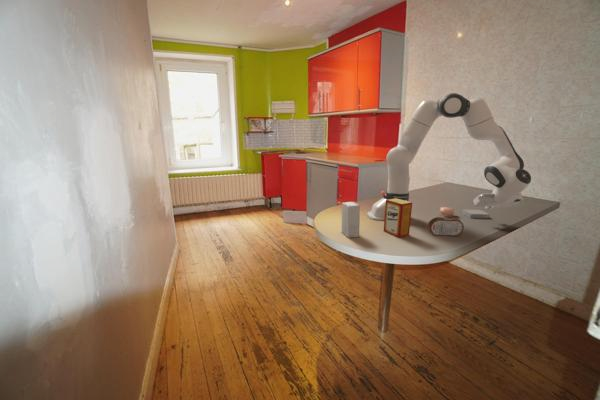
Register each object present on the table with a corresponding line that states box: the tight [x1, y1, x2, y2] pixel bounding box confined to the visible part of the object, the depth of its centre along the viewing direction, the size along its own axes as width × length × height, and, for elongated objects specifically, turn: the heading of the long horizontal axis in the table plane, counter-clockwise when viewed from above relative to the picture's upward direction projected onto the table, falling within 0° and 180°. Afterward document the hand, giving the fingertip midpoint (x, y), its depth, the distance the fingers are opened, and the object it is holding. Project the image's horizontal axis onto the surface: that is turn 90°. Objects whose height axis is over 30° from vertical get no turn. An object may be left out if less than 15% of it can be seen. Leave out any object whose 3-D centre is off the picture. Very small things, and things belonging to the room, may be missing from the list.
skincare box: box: [341, 201, 361, 239], centre depth 130 cm, size 8×6×15 cm
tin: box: [427, 216, 465, 237], centre depth 130 cm, size 15×3×8 cm, turn 84°
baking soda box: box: [383, 198, 413, 239], centre depth 131 cm, size 10×6×16 cm
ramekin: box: [439, 206, 455, 218], centre depth 162 cm, size 7×7×4 cm
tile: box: [461, 209, 490, 219], centre depth 161 cm, size 10×3×9 cm
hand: (488, 208), depth 151 cm, fingers closed
